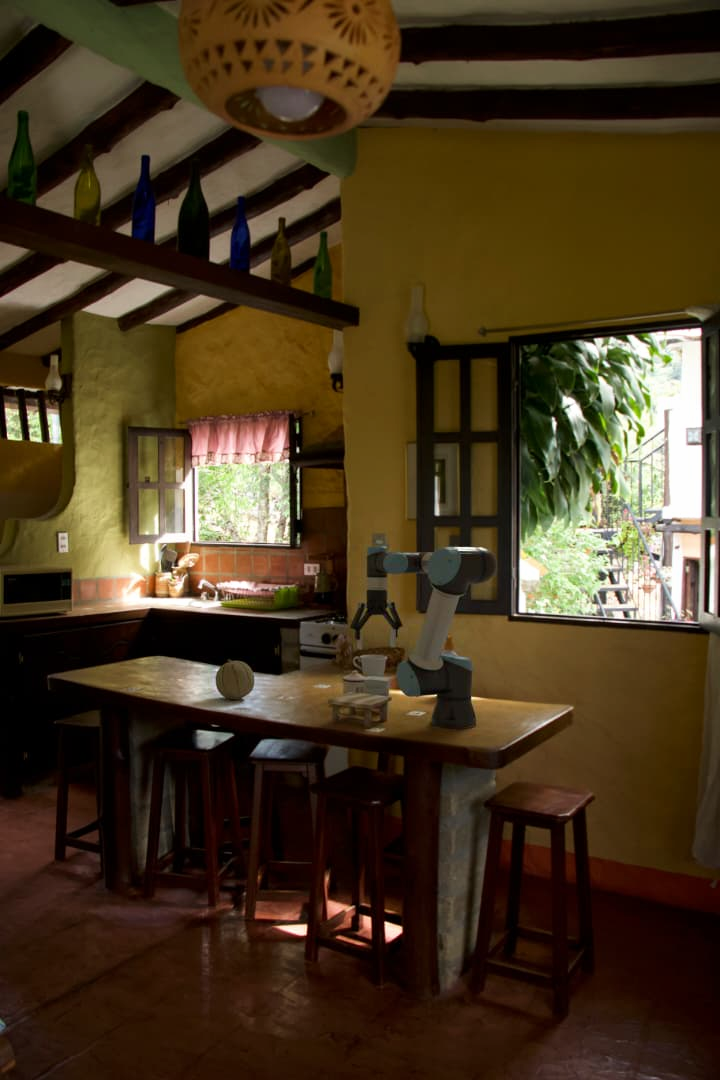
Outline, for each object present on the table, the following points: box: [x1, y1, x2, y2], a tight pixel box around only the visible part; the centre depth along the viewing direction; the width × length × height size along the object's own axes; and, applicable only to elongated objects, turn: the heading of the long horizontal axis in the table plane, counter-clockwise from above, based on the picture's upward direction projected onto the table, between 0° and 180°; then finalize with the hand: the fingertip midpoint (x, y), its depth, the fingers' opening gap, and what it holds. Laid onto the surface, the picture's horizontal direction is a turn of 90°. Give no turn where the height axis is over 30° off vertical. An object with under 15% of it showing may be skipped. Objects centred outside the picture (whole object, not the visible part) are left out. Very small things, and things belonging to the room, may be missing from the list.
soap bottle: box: [442, 635, 459, 656], centre depth 346 cm, size 9×9×24 cm
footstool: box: [327, 692, 393, 729], centre depth 300 cm, size 16×16×8 cm
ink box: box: [362, 676, 390, 714], centre depth 319 cm, size 9×9×12 cm
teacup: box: [352, 654, 388, 677], centre depth 380 cm, size 12×15×10 cm
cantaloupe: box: [215, 658, 255, 701], centre depth 334 cm, size 15×15×15 cm
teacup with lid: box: [342, 670, 366, 695], centre depth 334 cm, size 12×9×12 cm
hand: (376, 648), depth 319 cm, fingers open, 13 cm apart
